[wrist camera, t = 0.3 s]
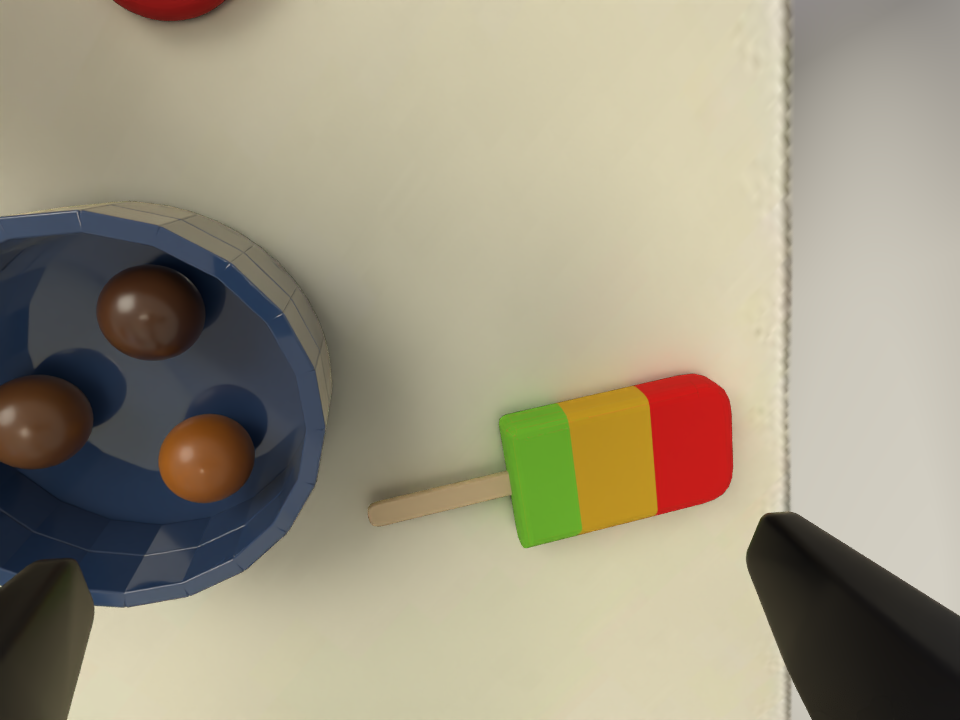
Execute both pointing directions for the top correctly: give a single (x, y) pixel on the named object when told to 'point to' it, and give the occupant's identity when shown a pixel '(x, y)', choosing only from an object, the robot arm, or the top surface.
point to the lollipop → (169, 8)
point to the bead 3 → (206, 458)
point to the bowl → (157, 400)
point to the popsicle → (598, 461)
